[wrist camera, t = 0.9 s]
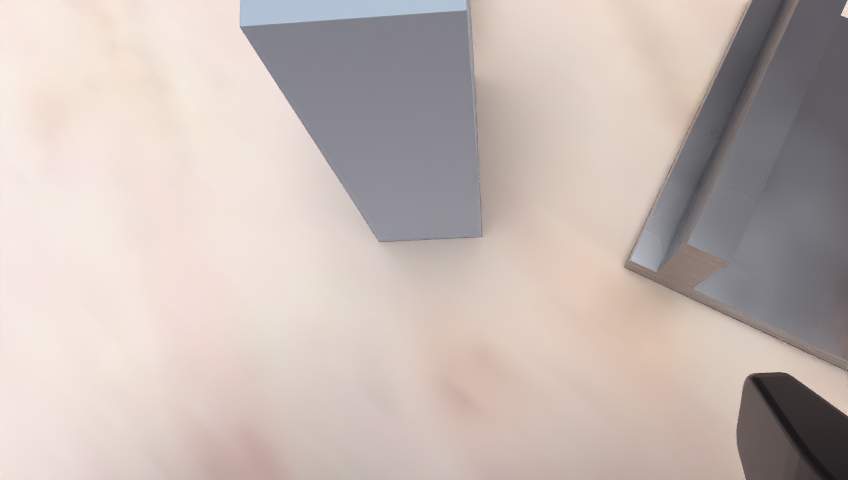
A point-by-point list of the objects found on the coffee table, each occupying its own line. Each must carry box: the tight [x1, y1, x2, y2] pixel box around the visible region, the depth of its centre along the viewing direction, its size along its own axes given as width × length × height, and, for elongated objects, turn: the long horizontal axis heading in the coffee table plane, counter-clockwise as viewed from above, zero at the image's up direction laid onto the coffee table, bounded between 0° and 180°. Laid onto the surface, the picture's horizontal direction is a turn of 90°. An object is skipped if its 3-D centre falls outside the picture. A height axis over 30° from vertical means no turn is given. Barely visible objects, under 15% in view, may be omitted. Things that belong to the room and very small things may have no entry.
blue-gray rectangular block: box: [240, 0, 482, 242], centre depth 17 cm, size 5×3×13 cm, turn 2°
